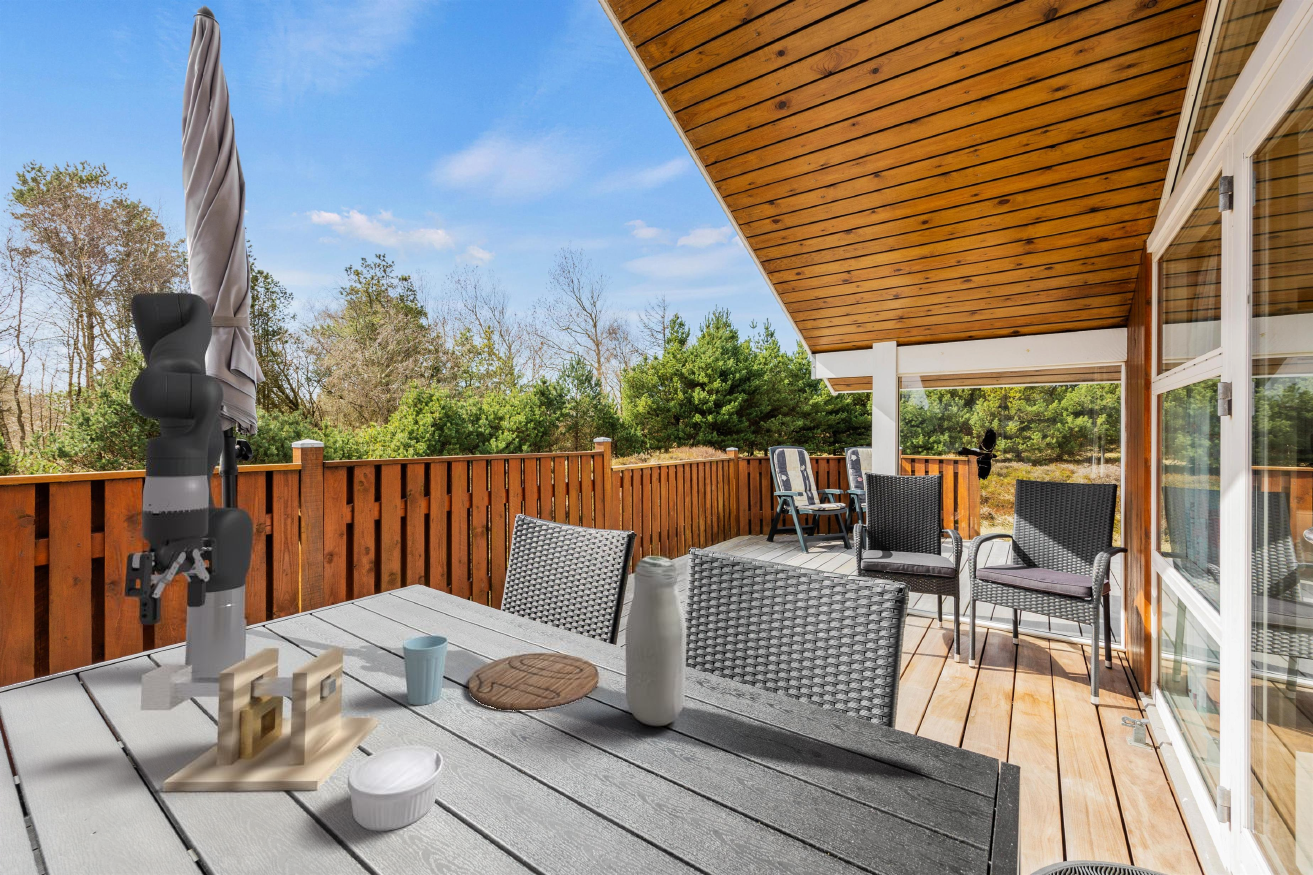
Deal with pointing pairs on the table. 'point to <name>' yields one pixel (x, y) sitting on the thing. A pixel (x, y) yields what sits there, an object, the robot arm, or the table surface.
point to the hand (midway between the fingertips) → (174, 614)
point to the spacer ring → (251, 725)
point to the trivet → (533, 681)
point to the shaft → (207, 687)
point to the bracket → (307, 737)
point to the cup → (424, 668)
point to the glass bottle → (655, 644)
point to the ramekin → (395, 786)
